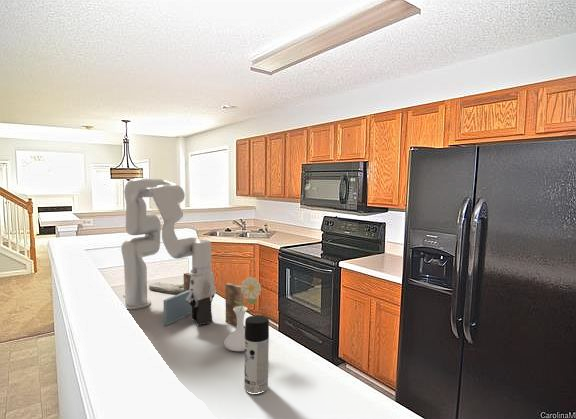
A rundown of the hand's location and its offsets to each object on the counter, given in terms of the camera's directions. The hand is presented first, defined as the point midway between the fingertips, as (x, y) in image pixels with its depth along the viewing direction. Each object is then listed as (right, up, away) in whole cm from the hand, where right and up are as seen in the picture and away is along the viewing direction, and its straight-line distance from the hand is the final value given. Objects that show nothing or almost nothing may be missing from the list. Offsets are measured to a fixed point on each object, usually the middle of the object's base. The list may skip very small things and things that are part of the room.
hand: (201, 312), depth 142 cm
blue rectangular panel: (-9, -3, +5) cm, 11 cm away
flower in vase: (+20, -6, -21) cm, 29 cm away
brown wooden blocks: (+2, -3, +7) cm, 8 cm away
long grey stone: (-23, -1, +40) cm, 46 cm away
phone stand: (0, -3, 0) cm, 3 cm away
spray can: (+27, -8, -45) cm, 53 cm away
